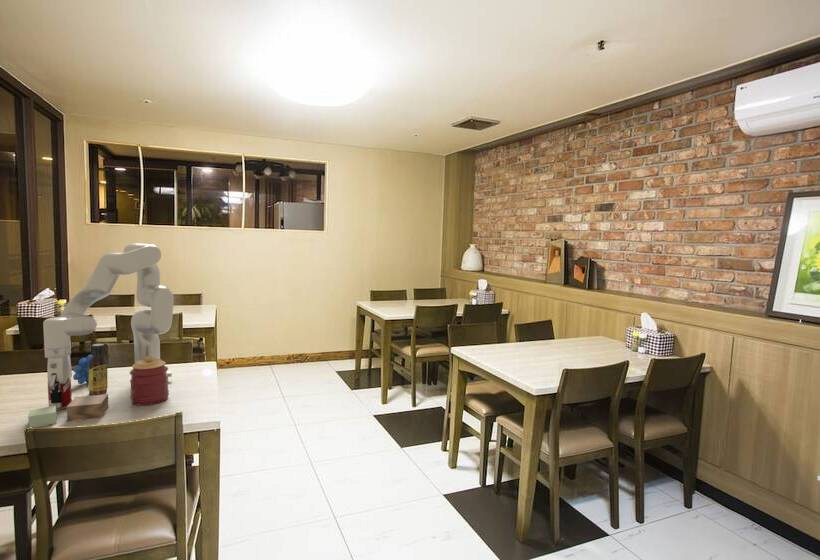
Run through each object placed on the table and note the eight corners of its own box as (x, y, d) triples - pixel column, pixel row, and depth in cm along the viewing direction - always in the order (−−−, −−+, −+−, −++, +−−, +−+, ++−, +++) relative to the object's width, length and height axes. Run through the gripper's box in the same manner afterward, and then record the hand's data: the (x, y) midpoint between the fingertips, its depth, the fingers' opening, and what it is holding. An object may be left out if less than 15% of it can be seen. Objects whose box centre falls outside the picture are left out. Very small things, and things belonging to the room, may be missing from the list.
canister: (128, 398, 179) (127, 354, 177) (165, 391, 186) (164, 349, 185) (132, 408, 168) (131, 361, 167) (171, 401, 176) (170, 356, 175)
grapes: (96, 377, 202) (95, 351, 201) (105, 379, 200) (104, 353, 198) (67, 385, 192) (66, 357, 191) (77, 387, 189) (76, 359, 188)
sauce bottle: (93, 397, 178) (91, 347, 177) (85, 394, 182) (83, 345, 180) (111, 392, 184) (109, 344, 182) (103, 389, 187) (102, 342, 185)
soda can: (59, 411, 164) (57, 379, 162) (44, 409, 165) (42, 377, 164) (76, 405, 170) (75, 373, 169) (61, 403, 171) (60, 372, 170)
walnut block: (108, 407, 169) (107, 394, 168) (101, 417, 160) (101, 403, 159) (76, 410, 165) (75, 396, 165) (67, 420, 156) (66, 406, 155)
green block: (56, 416, 159) (55, 405, 159) (56, 423, 154) (55, 412, 153) (30, 421, 155) (29, 409, 155) (29, 428, 149) (28, 416, 149)
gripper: (62, 356, 159) (64, 406, 161) (77, 345, 175) (79, 390, 177) (35, 358, 156) (38, 408, 158) (53, 346, 172) (56, 392, 174)
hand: (60, 398), depth 167 cm, fingers closed on soda can, 6 cm apart
